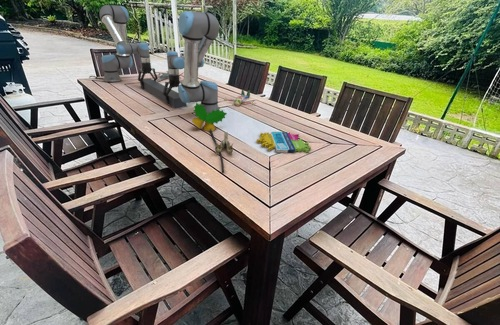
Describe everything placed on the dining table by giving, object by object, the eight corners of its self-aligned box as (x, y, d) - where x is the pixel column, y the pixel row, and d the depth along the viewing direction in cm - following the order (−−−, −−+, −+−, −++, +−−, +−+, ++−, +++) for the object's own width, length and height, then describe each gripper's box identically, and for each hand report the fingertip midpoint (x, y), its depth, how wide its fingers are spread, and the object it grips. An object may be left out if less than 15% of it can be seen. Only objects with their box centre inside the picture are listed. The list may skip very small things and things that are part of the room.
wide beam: (186, 106, 200) (186, 96, 197) (174, 108, 195) (173, 98, 191) (151, 86, 246) (150, 78, 243) (140, 87, 241) (139, 79, 237)
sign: (313, 150, 142) (258, 149, 139) (312, 153, 143) (258, 152, 140) (301, 132, 164) (254, 130, 161) (301, 134, 165) (254, 133, 162)
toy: (261, 91, 228) (254, 99, 202) (261, 99, 231) (253, 108, 205) (231, 87, 233) (220, 95, 207) (230, 95, 236) (219, 104, 210)
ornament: (218, 133, 171) (224, 110, 169) (221, 134, 163) (227, 111, 161) (186, 125, 162) (192, 101, 160) (189, 126, 155) (195, 101, 153)
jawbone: (234, 135, 144) (233, 125, 135) (233, 160, 138) (232, 151, 129) (217, 135, 144) (216, 125, 135) (216, 160, 138) (214, 150, 129)
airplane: (149, 74, 288) (148, 65, 283) (178, 73, 302) (177, 64, 297) (156, 83, 260) (154, 73, 255) (187, 81, 273) (186, 71, 268)
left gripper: (156, 61, 236) (159, 86, 247) (131, 62, 223) (135, 88, 234) (160, 62, 231) (162, 87, 242) (134, 63, 218) (138, 90, 229)
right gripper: (186, 72, 201) (187, 99, 211) (155, 74, 187) (158, 103, 197) (191, 74, 196) (192, 102, 206) (159, 76, 182) (162, 106, 192)
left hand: (149, 88), depth 238 cm, fingers closed on wide beam, 10 cm apart
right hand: (176, 103), depth 202 cm, fingers open, 12 cm apart
